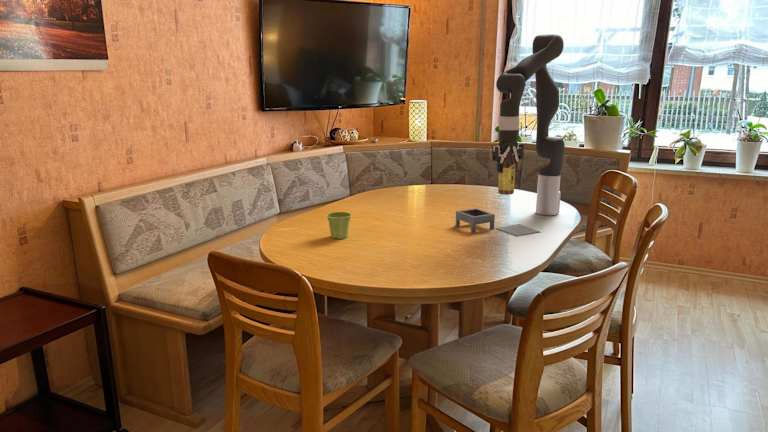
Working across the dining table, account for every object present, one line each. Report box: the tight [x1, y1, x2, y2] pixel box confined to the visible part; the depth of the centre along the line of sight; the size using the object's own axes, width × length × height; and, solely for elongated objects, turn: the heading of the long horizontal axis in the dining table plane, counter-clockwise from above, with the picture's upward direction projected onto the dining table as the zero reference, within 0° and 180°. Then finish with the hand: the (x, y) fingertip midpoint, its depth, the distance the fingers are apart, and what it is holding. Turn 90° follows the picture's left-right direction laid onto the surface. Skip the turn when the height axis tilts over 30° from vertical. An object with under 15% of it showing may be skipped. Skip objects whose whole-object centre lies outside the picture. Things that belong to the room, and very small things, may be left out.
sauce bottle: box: [497, 143, 516, 196], centre depth 222 cm, size 7×6×20 cm
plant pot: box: [325, 211, 352, 240], centre depth 216 cm, size 9×9×9 cm
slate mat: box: [495, 223, 541, 237], centre depth 226 cm, size 12×12×1 cm
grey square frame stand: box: [455, 207, 496, 233], centre depth 230 cm, size 10×11×6 cm
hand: (506, 171), depth 223 cm, fingers closed on sauce bottle, 6 cm apart
